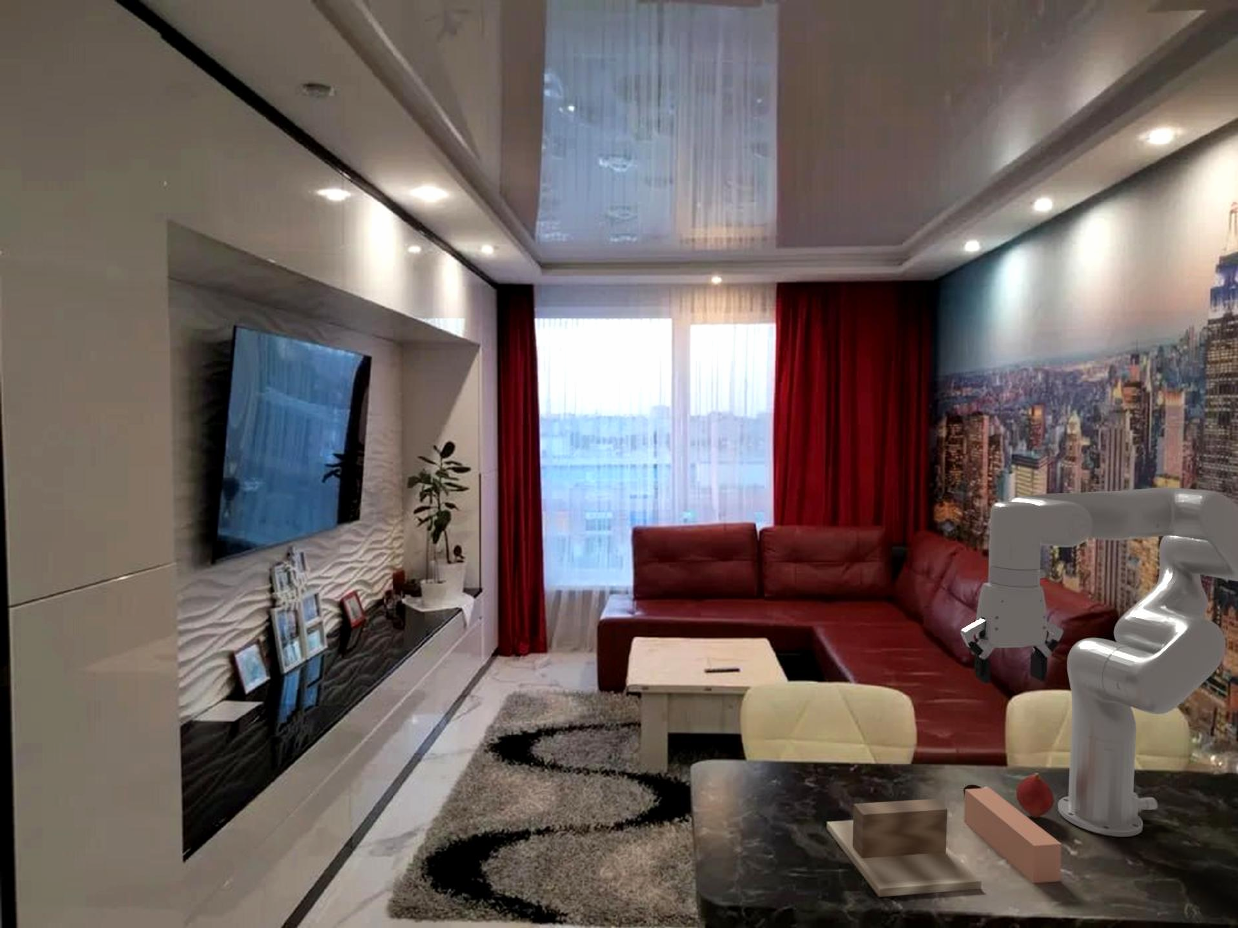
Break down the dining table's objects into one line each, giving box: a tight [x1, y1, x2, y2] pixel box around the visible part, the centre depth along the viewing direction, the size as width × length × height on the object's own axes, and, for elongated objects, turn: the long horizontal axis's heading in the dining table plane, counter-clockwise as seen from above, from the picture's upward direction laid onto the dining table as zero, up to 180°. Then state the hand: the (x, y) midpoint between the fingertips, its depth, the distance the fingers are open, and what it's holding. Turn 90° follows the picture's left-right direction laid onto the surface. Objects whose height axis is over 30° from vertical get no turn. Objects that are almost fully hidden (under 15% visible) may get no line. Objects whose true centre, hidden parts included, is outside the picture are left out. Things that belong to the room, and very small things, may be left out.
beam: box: [963, 787, 1062, 884], centre depth 125 cm, size 4×18×6 cm, turn 8°
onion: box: [1015, 772, 1055, 819], centre depth 136 cm, size 6×6×8 cm
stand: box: [826, 798, 982, 898], centre depth 123 cm, size 16×19×8 cm
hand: (1010, 679), depth 127 cm, fingers open, 9 cm apart
